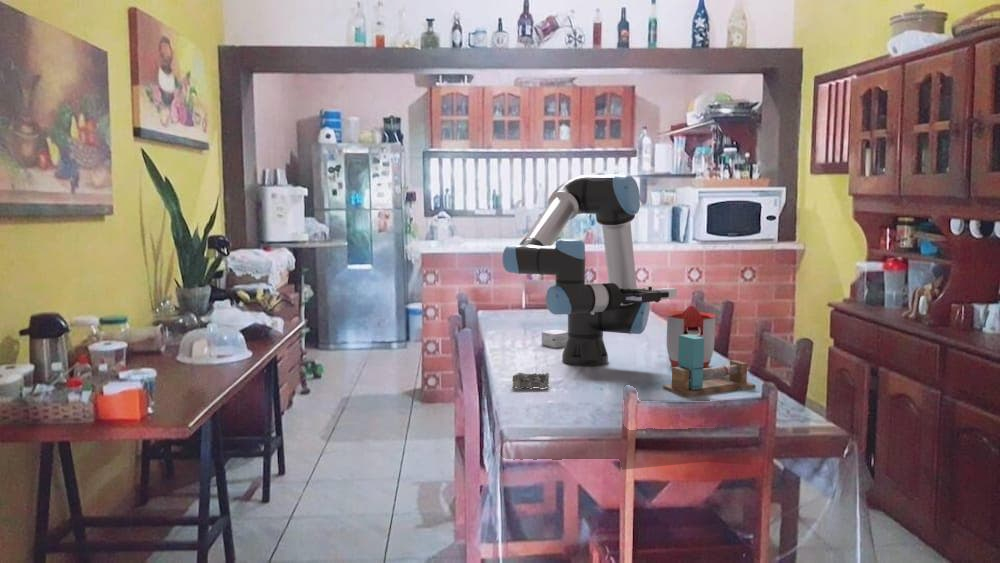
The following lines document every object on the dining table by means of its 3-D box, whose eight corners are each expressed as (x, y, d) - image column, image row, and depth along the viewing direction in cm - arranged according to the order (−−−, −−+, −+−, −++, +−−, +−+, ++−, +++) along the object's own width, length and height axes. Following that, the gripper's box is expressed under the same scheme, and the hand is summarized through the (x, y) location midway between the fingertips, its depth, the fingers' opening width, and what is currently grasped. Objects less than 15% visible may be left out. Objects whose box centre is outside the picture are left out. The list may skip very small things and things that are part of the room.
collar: (692, 389, 210) (694, 339, 208) (677, 384, 216) (679, 335, 214) (702, 388, 211) (704, 338, 210) (687, 383, 217) (688, 334, 216)
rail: (685, 396, 207) (686, 373, 206) (663, 388, 216) (663, 365, 215) (755, 387, 217) (756, 364, 217) (731, 379, 226) (732, 358, 226)
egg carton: (510, 389, 215) (510, 375, 215) (514, 383, 223) (514, 369, 222) (548, 391, 214) (548, 377, 213) (550, 384, 221) (550, 370, 221)
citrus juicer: (667, 372, 236) (669, 309, 234) (663, 360, 253) (664, 301, 251) (718, 373, 234) (721, 310, 232) (710, 361, 251) (712, 302, 249)
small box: (540, 344, 280) (541, 331, 280) (556, 342, 285) (556, 329, 284) (554, 348, 274) (554, 334, 274) (570, 345, 279) (570, 331, 278)
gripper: (588, 308, 206) (659, 303, 216) (616, 315, 194) (689, 309, 204) (588, 281, 205) (659, 277, 215) (616, 286, 193) (690, 282, 203)
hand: (674, 293), depth 209 cm, fingers closed
